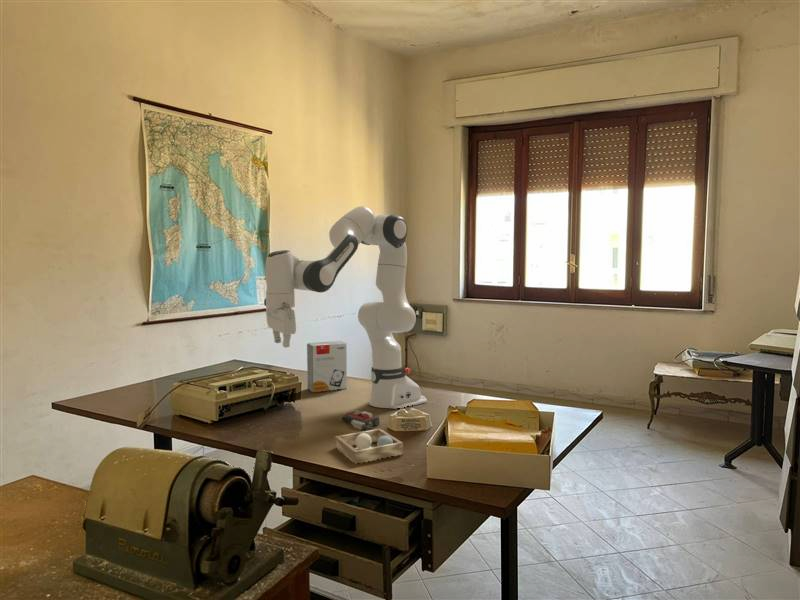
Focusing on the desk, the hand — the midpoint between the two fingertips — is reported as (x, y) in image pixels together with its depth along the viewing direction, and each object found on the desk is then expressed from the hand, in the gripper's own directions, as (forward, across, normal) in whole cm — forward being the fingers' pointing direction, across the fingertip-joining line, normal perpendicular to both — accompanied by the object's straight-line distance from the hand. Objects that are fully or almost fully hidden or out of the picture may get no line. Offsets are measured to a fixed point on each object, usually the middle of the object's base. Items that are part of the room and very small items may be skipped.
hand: (281, 344), depth 180 cm
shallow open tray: (+29, -28, -17) cm, 44 cm away
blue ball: (+29, -31, -21) cm, 47 cm away
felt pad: (+29, -27, -16) cm, 43 cm away
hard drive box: (+29, +48, -33) cm, 65 cm away
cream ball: (+29, -27, -16) cm, 43 cm away
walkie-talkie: (+30, -5, -27) cm, 40 cm away
